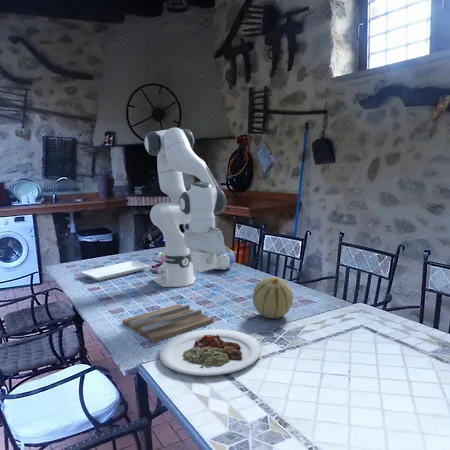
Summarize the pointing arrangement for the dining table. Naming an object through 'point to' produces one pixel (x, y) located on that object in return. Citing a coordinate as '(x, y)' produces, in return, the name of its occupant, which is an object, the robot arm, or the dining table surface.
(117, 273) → the tray
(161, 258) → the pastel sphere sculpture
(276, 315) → the cantaloupe
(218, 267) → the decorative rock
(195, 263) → the rail module
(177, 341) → the plated food
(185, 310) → the rail panel
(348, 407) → the dining table surface
